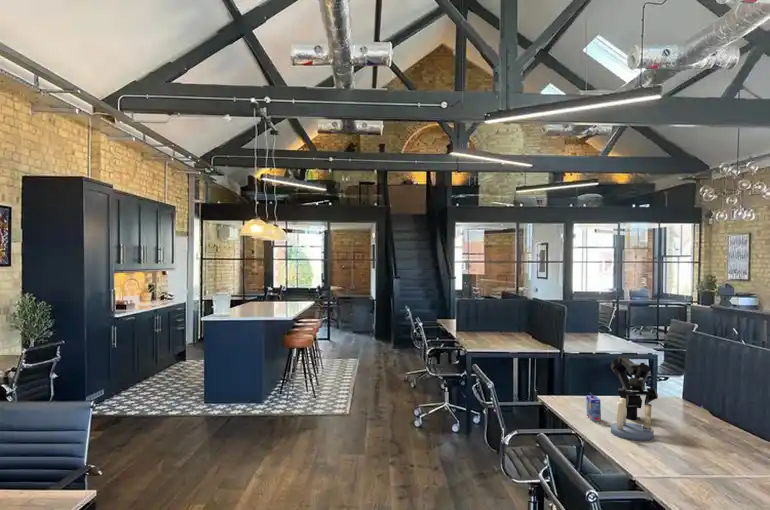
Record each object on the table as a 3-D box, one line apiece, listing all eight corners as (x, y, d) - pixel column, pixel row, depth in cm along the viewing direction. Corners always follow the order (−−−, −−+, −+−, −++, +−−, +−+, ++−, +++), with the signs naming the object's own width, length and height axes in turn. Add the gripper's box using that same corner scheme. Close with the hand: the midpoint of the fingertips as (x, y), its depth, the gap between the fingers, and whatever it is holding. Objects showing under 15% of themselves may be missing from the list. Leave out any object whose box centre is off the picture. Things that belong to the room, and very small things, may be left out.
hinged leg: (643, 429, 263) (645, 405, 269) (650, 430, 261) (651, 406, 267) (643, 427, 261) (644, 403, 266) (650, 428, 259) (651, 404, 265)
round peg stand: (614, 426, 279) (614, 395, 279) (655, 432, 268) (655, 401, 268) (607, 435, 262) (607, 403, 262) (651, 443, 251) (651, 409, 252)
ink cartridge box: (585, 416, 297) (585, 391, 298) (595, 416, 297) (595, 391, 297) (591, 421, 287) (591, 395, 288) (601, 421, 287) (601, 395, 287)
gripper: (617, 373, 286) (612, 393, 275) (653, 372, 274) (650, 394, 263) (623, 387, 290) (619, 408, 279) (659, 387, 278) (656, 409, 267)
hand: (635, 404), depth 272 cm, fingers open, 9 cm apart
